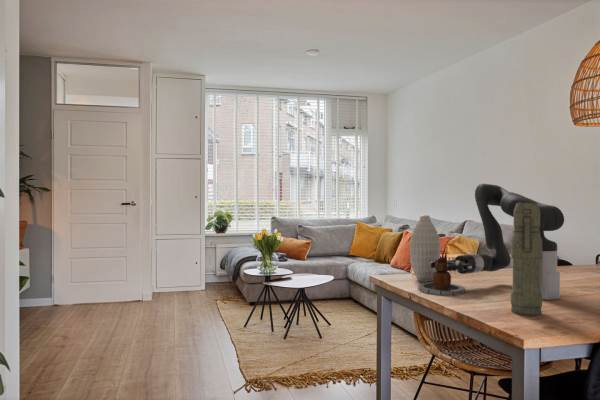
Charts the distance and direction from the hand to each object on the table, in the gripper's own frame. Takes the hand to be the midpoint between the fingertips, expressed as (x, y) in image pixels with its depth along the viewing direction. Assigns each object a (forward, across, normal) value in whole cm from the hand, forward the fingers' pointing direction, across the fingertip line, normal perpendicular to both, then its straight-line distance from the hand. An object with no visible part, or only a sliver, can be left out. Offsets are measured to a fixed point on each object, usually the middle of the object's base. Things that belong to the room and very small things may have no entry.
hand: (439, 266), depth 184 cm
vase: (-11, -20, +10) cm, 25 cm away
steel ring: (-1, 0, +9) cm, 9 cm away
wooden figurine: (-1, 0, +10) cm, 10 cm away
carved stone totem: (0, +38, +10) cm, 39 cm away
